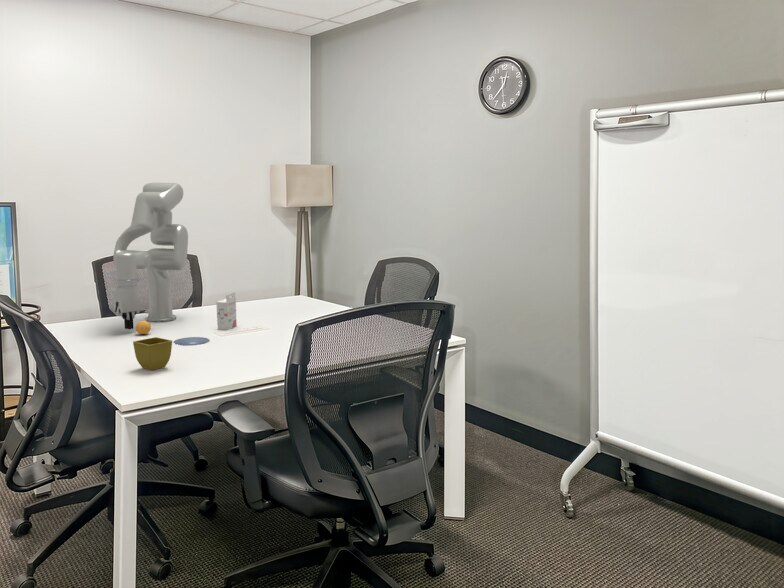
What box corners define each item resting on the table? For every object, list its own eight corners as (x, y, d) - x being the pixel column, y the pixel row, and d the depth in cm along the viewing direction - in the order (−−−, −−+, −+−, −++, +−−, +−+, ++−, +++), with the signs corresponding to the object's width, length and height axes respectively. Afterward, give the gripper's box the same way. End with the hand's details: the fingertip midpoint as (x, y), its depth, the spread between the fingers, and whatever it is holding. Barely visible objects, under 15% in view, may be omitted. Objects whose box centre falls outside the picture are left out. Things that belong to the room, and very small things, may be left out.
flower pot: (157, 363, 210) (156, 336, 208) (174, 367, 205) (172, 340, 203) (133, 368, 203) (132, 341, 201) (150, 373, 198) (148, 345, 196)
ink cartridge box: (226, 325, 271) (225, 291, 268) (236, 326, 270) (236, 291, 268) (216, 329, 262) (215, 294, 260) (227, 330, 262) (226, 294, 259)
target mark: (166, 342, 238) (166, 342, 238) (190, 336, 249) (190, 335, 249) (192, 346, 232) (192, 346, 232) (216, 339, 244) (216, 339, 244)
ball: (133, 335, 250) (132, 321, 249) (144, 332, 255) (143, 319, 254) (143, 336, 248) (142, 322, 247) (154, 333, 253) (153, 320, 252)
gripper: (135, 280, 260) (137, 324, 263) (104, 285, 247) (106, 331, 250) (148, 282, 257) (150, 326, 259) (117, 286, 243) (120, 333, 246)
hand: (129, 328), depth 254 cm, fingers closed
